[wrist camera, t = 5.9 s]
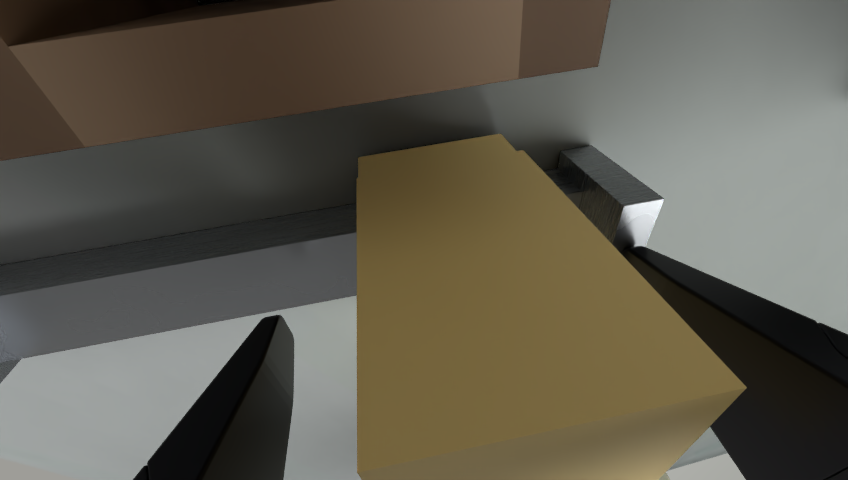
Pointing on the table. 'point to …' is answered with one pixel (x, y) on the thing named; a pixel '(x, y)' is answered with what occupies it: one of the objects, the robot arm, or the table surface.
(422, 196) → the block
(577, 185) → the rail
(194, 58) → the brown wooden box
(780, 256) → the table surface
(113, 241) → the table surface
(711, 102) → the table surface
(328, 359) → the table surface
